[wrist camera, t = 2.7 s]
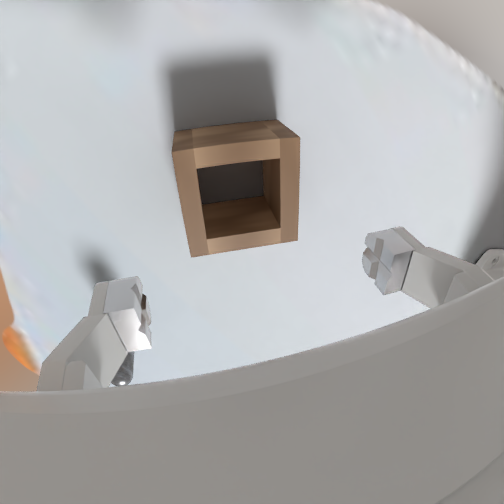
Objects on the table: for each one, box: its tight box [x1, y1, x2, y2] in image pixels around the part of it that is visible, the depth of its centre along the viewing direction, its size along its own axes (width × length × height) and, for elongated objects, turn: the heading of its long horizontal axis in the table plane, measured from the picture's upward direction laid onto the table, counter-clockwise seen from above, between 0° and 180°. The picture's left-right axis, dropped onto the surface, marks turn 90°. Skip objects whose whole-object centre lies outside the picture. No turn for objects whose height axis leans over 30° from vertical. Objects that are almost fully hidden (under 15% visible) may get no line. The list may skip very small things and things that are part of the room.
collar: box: [172, 120, 300, 257], centre depth 17 cm, size 6×6×4 cm
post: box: [111, 351, 134, 386], centre depth 21 cm, size 2×2×6 cm
